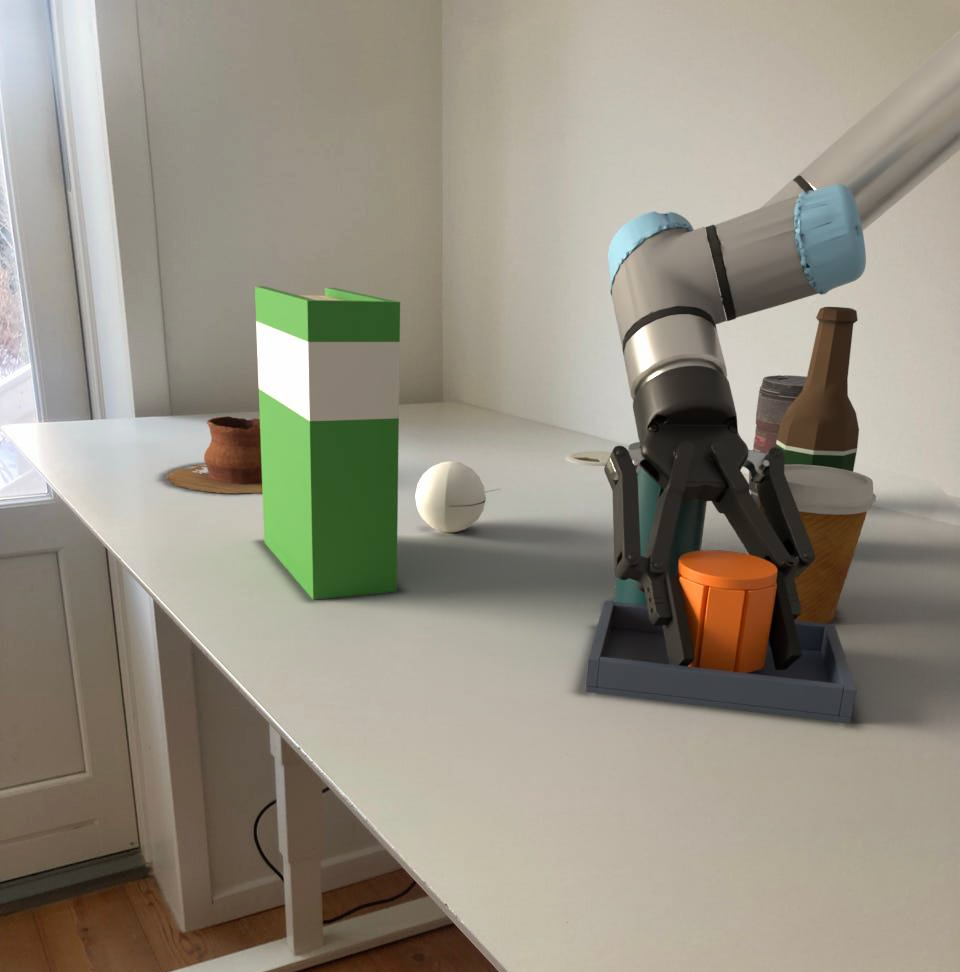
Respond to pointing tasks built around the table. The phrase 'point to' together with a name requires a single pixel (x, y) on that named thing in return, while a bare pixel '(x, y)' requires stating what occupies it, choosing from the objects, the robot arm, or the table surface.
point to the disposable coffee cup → (827, 531)
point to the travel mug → (773, 412)
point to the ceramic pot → (227, 459)
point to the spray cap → (728, 608)
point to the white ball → (450, 497)
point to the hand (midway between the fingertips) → (736, 664)
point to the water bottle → (683, 539)
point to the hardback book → (330, 437)
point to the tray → (719, 671)
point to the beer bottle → (824, 400)
